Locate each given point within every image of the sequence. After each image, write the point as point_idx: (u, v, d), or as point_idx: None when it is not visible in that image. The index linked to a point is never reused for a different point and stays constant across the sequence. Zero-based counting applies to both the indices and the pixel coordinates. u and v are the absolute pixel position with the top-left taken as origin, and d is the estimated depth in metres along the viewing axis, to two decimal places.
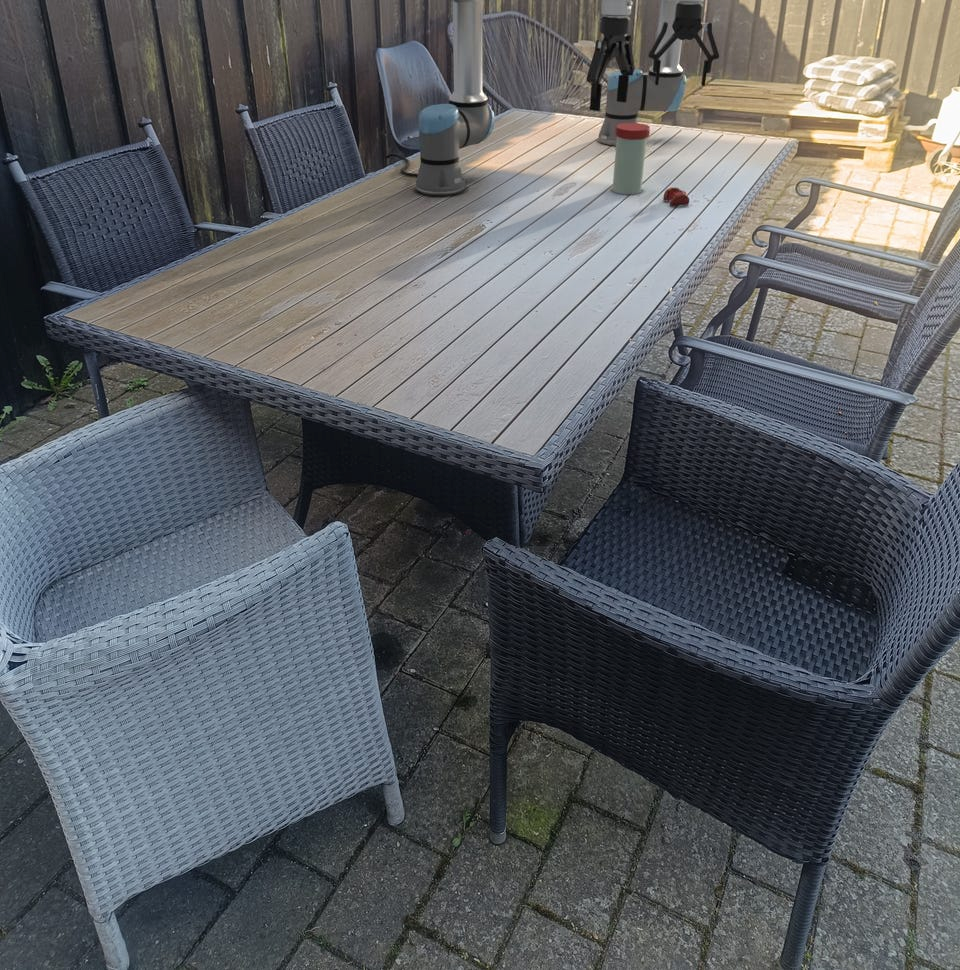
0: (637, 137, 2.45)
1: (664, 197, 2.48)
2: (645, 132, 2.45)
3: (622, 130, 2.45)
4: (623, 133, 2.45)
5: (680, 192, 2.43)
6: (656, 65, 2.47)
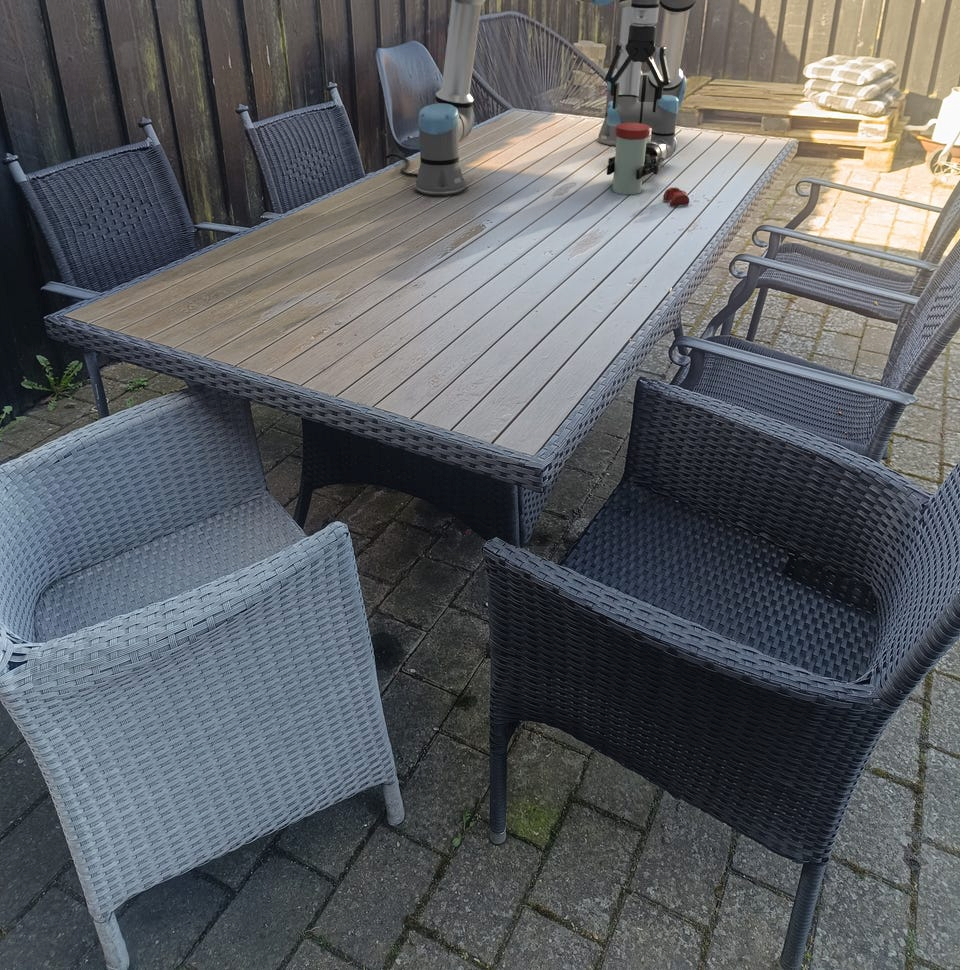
0: (637, 137, 2.45)
1: (664, 197, 2.48)
2: (645, 132, 2.45)
3: (622, 130, 2.45)
4: (623, 133, 2.45)
5: (680, 192, 2.43)
6: None
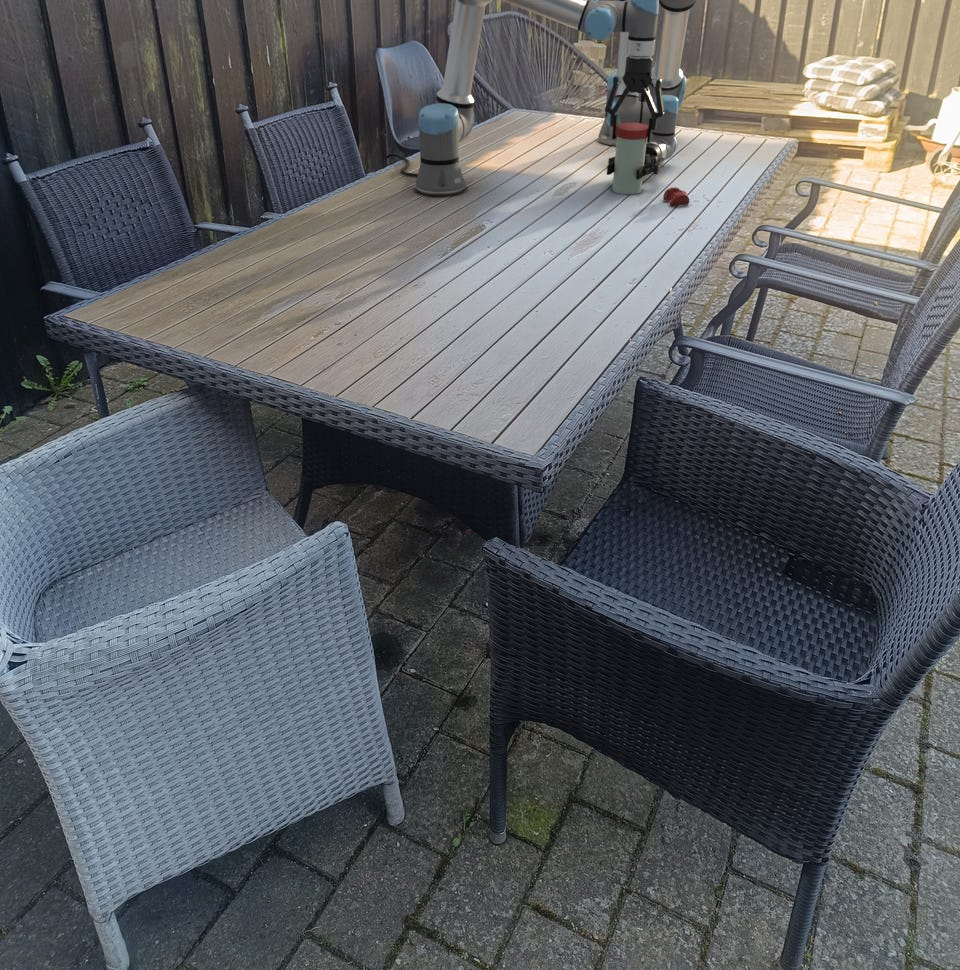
0: (637, 137, 2.45)
1: (664, 197, 2.48)
2: (645, 132, 2.45)
3: (622, 130, 2.45)
4: (623, 133, 2.45)
5: (680, 192, 2.43)
6: None
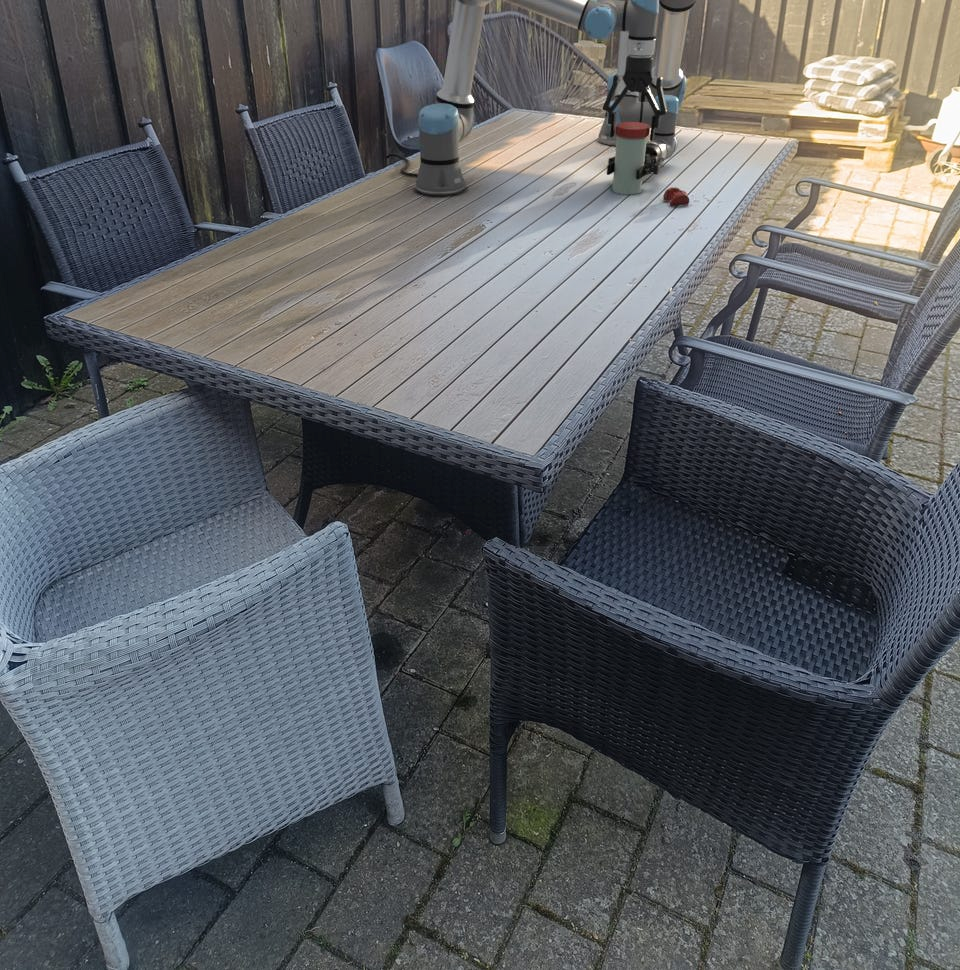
0: None
1: (664, 197, 2.48)
2: None
3: (645, 130, 2.44)
4: (645, 132, 2.45)
5: (680, 192, 2.43)
6: None
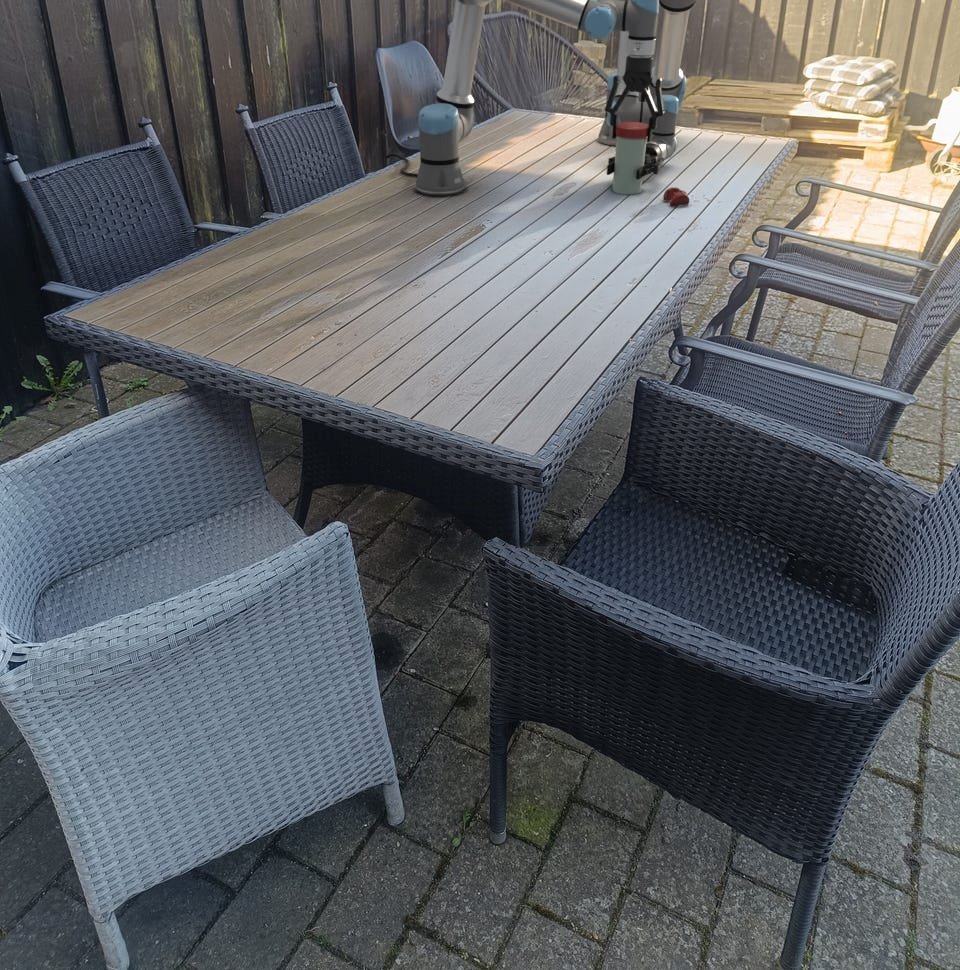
0: None
1: (664, 197, 2.48)
2: None
3: (645, 130, 2.44)
4: (645, 132, 2.45)
5: (680, 192, 2.43)
6: None
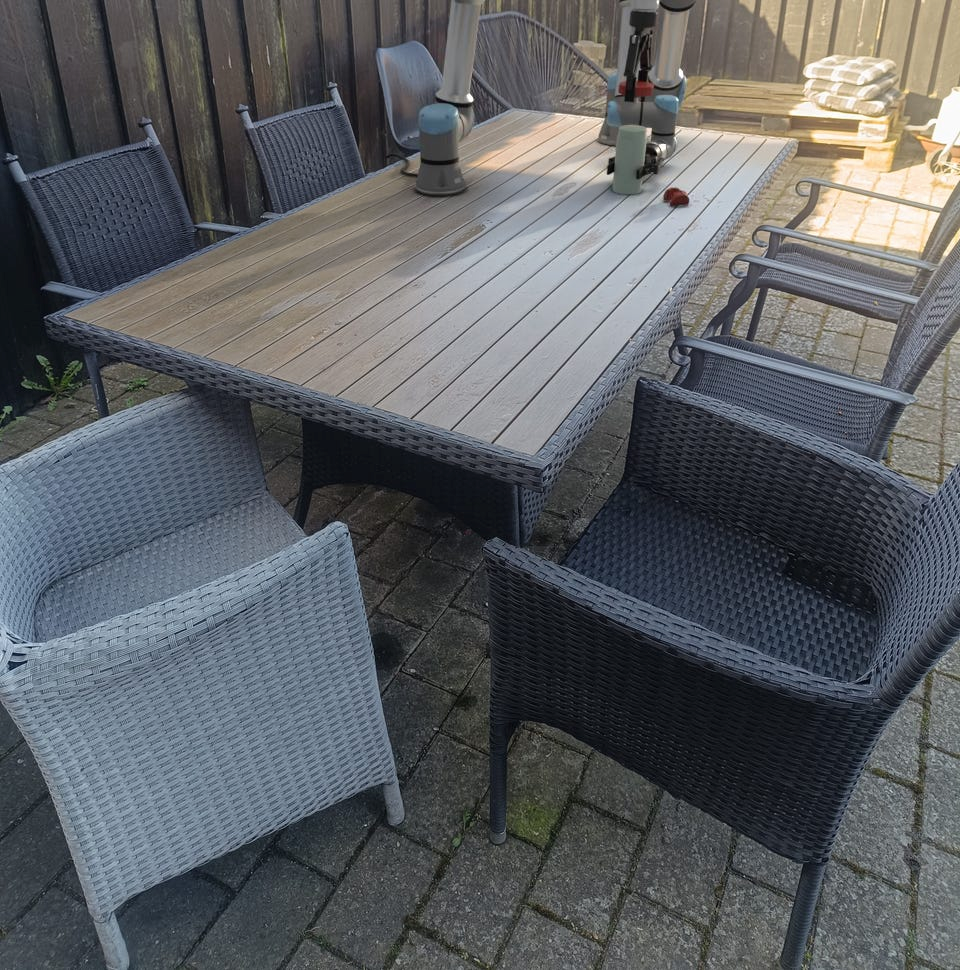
0: None
1: (664, 197, 2.48)
2: None
3: None
4: None
5: (680, 192, 2.43)
6: None
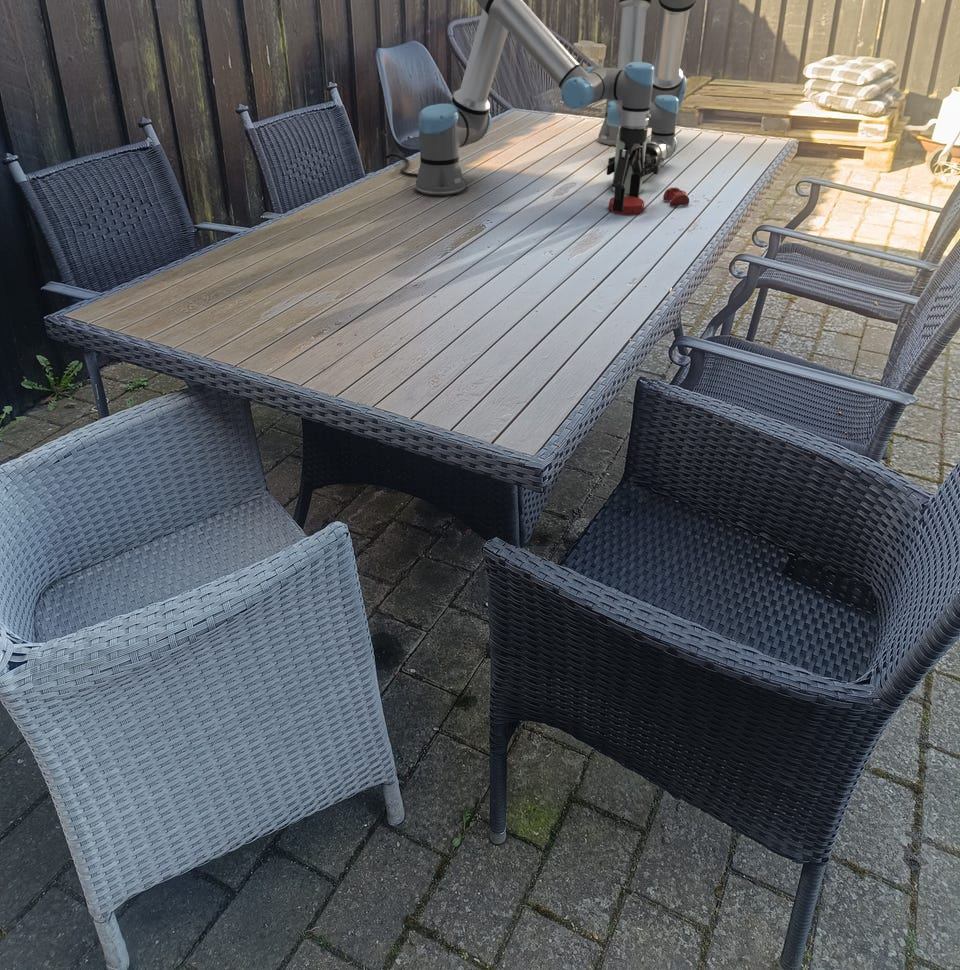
0: None
1: (664, 197, 2.48)
2: None
3: None
4: None
5: (680, 192, 2.43)
6: None
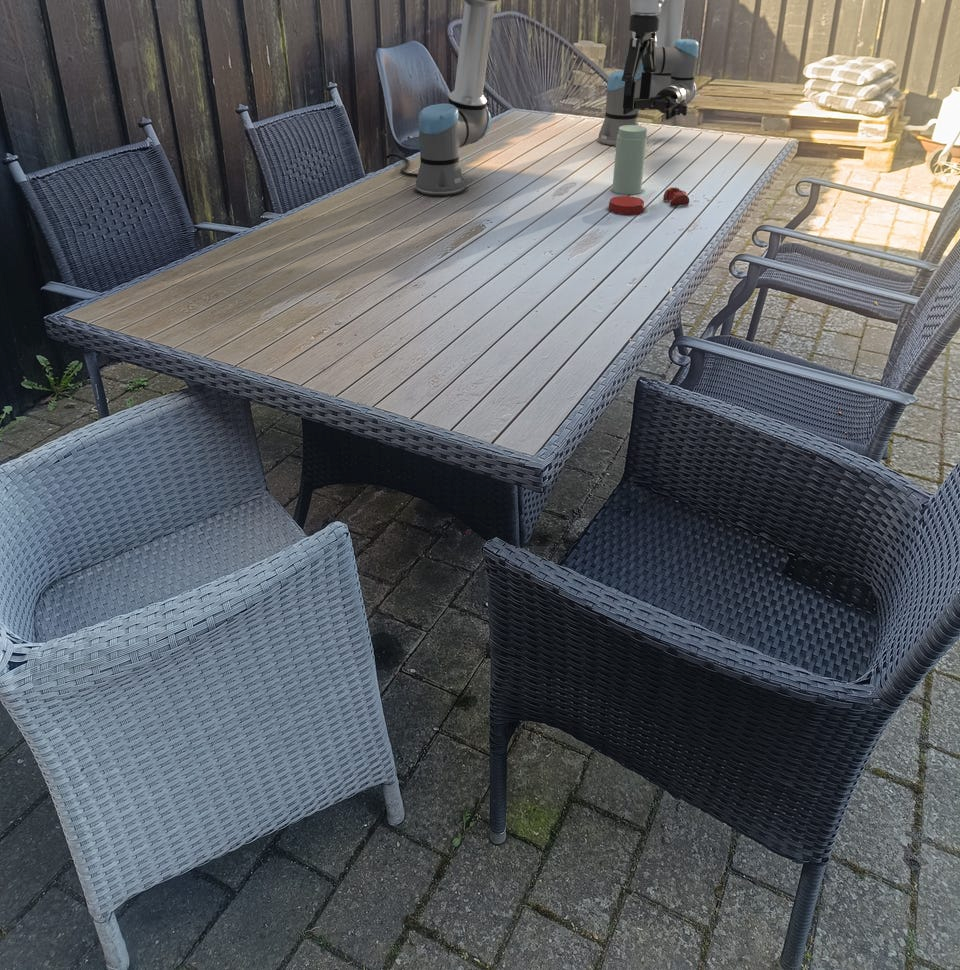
0: None
1: (664, 197, 2.48)
2: None
3: None
4: None
5: (680, 192, 2.43)
6: None
